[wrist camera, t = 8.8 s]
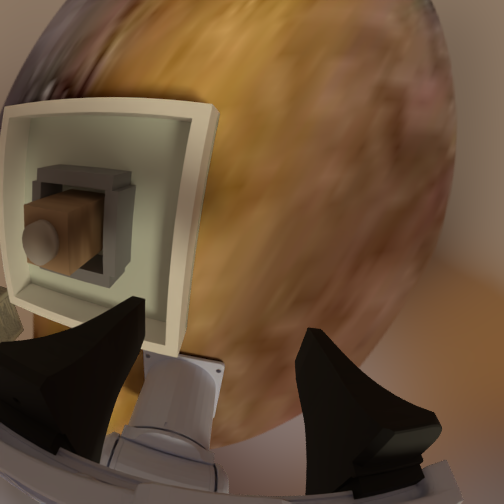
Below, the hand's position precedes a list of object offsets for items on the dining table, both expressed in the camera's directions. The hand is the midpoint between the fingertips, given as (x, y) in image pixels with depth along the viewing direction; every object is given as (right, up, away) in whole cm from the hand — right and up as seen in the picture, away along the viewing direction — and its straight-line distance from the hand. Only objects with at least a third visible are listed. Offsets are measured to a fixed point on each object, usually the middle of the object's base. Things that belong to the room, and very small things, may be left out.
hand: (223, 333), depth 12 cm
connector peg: (-12, +6, +8) cm, 15 cm away
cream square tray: (-12, +7, +9) cm, 16 cm away
